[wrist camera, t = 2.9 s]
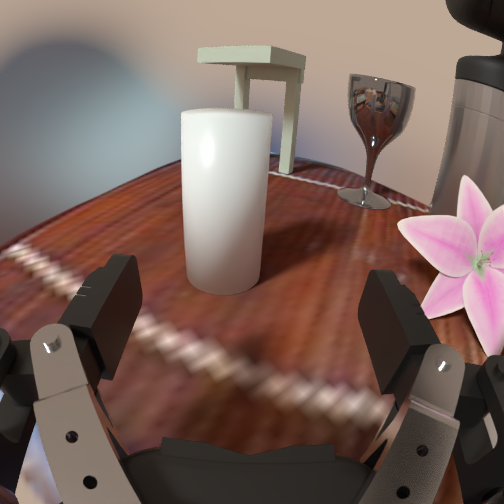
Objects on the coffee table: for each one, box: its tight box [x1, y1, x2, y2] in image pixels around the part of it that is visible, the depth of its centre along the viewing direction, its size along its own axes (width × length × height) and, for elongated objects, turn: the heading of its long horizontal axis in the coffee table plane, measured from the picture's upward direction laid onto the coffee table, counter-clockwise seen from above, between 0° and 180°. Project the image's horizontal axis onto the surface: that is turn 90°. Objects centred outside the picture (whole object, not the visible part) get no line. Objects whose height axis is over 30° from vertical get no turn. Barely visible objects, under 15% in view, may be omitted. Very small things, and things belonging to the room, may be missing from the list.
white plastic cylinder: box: [181, 108, 273, 295], centre depth 20 cm, size 5×5×11 cm
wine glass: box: [337, 74, 416, 210], centre depth 34 cm, size 8×8×15 cm
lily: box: [397, 175, 504, 357], centre depth 18 cm, size 12×12×10 cm
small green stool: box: [198, 46, 306, 174], centre depth 38 cm, size 10×10×17 cm
